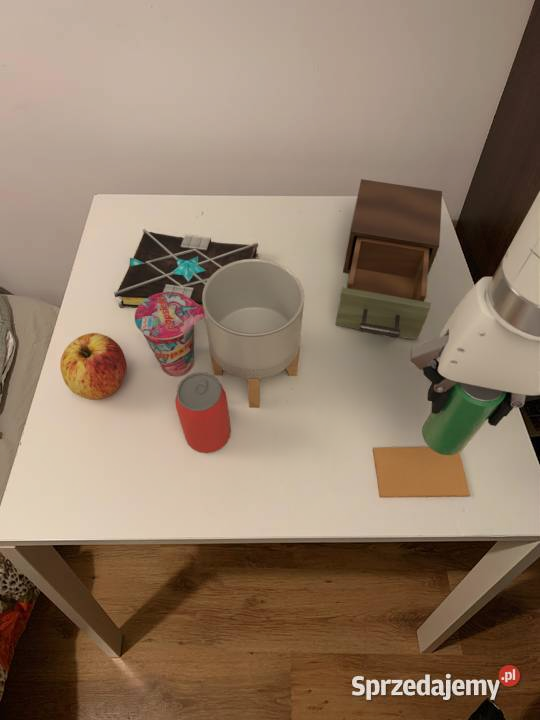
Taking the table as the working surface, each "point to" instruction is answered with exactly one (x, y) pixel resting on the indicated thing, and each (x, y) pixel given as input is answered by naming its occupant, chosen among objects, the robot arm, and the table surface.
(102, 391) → the apple
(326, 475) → the table surface
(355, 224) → the cabinet
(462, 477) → the mat
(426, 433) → the green can
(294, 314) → the planter
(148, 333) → the cup
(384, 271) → the drawer
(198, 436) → the beer can
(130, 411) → the table surface
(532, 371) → the robot arm
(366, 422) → the table surface
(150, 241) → the book
